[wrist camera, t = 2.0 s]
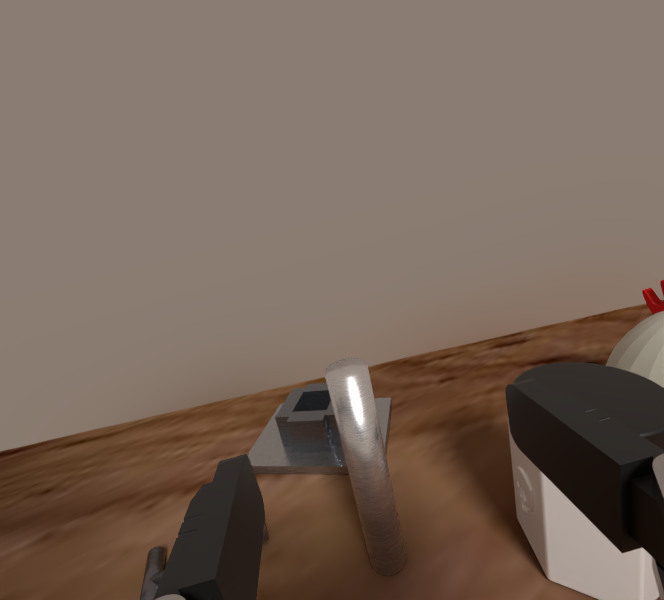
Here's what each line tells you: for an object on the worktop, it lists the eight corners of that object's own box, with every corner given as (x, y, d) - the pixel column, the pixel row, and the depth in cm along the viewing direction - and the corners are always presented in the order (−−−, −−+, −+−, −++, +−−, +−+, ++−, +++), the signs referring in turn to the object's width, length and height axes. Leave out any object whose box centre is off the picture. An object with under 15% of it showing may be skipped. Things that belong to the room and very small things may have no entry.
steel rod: (367, 573, 25) (319, 380, 21) (372, 537, 27) (330, 359, 23) (406, 577, 24) (363, 377, 20) (407, 540, 26) (369, 356, 23)
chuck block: (242, 473, 38) (230, 435, 37) (282, 409, 49) (273, 379, 48) (384, 474, 33) (375, 431, 32) (392, 404, 44) (385, 370, 43)
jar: (502, 496, 28) (488, 368, 25) (607, 485, 27) (605, 351, 24) (564, 622, 20) (554, 451, 17) (720, 614, 19) (740, 430, 16)
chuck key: (138, 639, 24) (128, 618, 23) (150, 564, 29) (142, 546, 29) (274, 565, 27) (268, 546, 26) (262, 510, 32) (257, 493, 32)
